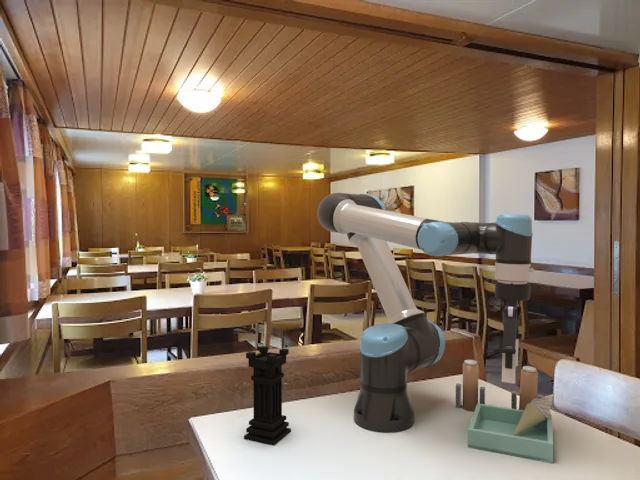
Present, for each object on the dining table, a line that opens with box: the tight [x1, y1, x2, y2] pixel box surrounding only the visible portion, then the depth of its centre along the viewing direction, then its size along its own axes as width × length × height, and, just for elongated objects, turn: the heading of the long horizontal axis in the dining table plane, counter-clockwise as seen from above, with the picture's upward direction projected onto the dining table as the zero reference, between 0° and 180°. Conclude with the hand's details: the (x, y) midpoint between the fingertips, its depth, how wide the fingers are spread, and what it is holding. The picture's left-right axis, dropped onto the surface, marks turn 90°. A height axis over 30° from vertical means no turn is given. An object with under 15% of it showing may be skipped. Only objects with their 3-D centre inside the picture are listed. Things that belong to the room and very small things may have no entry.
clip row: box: [455, 382, 544, 409], centre depth 124 cm, size 21×2×6 cm, turn 65°
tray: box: [467, 402, 554, 464], centre depth 109 cm, size 17×17×4 cm
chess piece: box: [243, 345, 292, 447], centre depth 111 cm, size 8×8×20 cm
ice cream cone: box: [513, 393, 555, 436], centre depth 111 cm, size 5×5×15 cm
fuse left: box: [462, 359, 479, 412], centre depth 127 cm, size 4×4×13 cm
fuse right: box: [518, 365, 539, 410], centre depth 121 cm, size 4×4×13 cm
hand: (510, 373), depth 109 cm, fingers open, 13 cm apart
